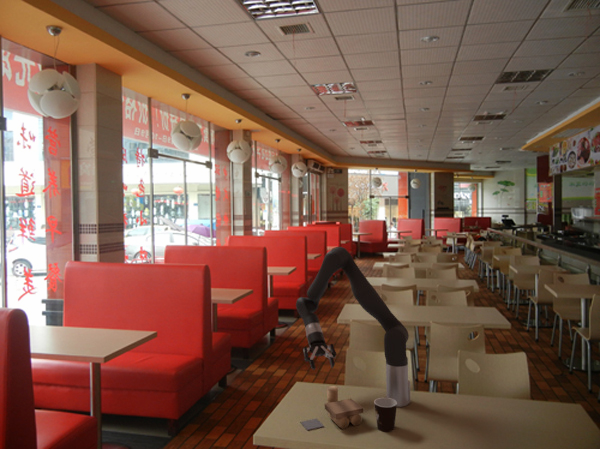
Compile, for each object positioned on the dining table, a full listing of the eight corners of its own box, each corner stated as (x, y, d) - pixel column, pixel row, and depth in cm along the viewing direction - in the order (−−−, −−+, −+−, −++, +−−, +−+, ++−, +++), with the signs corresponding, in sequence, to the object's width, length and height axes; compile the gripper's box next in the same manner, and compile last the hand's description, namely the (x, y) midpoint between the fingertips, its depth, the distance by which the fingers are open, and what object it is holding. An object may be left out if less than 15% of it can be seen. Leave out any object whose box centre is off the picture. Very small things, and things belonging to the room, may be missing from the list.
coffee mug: (397, 434, 173) (397, 407, 173) (374, 432, 175) (373, 406, 175) (397, 420, 185) (396, 395, 184) (375, 418, 186) (374, 393, 186)
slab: (351, 413, 191) (351, 398, 191) (363, 424, 182) (363, 408, 182) (324, 419, 187) (324, 403, 186) (336, 430, 177) (335, 414, 177)
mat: (316, 419, 187) (316, 418, 187) (324, 426, 180) (323, 425, 180) (300, 422, 184) (300, 421, 184) (307, 430, 178) (307, 429, 178)
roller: (335, 408, 196) (334, 385, 196) (340, 412, 192) (339, 389, 192) (325, 410, 195) (325, 387, 194) (330, 414, 191) (329, 390, 190)
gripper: (301, 332, 210) (309, 365, 199) (331, 329, 213) (340, 361, 203) (298, 340, 215) (306, 373, 204) (327, 337, 219) (336, 369, 208)
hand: (323, 367), depth 204 cm, fingers open, 8 cm apart
